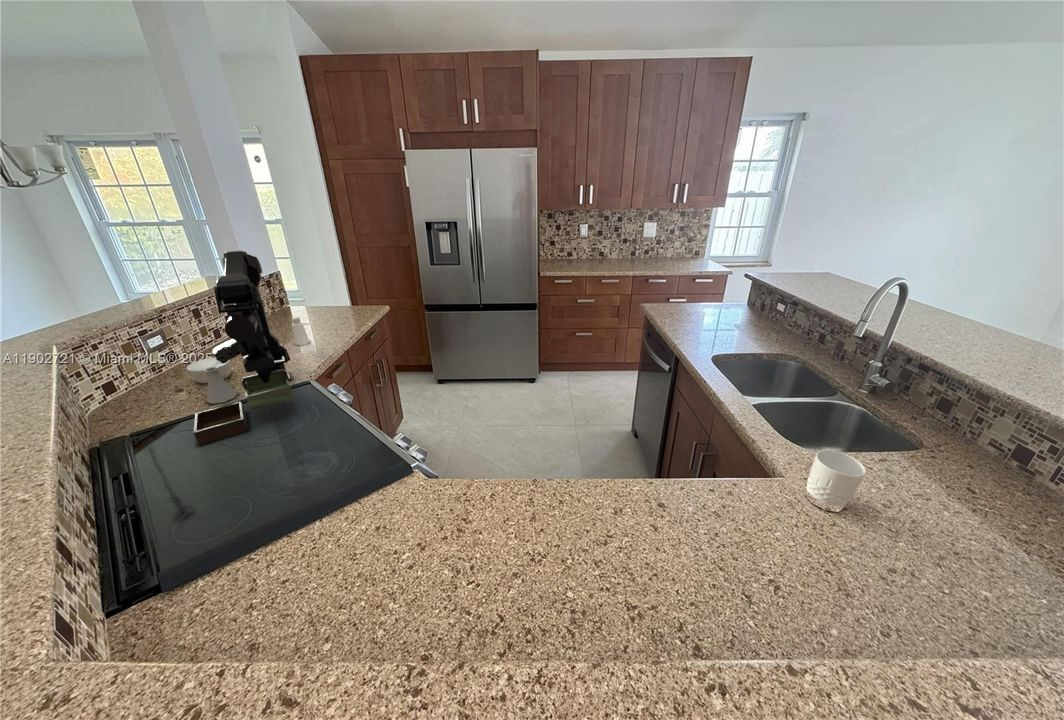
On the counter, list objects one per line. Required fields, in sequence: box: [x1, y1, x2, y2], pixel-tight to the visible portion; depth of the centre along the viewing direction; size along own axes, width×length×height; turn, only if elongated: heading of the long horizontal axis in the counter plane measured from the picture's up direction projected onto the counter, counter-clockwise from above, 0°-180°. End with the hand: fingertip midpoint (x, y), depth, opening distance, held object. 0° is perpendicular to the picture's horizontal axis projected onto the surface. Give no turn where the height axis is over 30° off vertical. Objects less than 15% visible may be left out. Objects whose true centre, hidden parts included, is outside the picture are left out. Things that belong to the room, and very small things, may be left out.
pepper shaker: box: [291, 316, 310, 346], centre depth 151 cm, size 5×5×11 cm
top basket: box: [240, 369, 295, 411], centre depth 102 cm, size 11×10×7 cm
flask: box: [204, 367, 239, 405], centre depth 111 cm, size 7×7×10 cm
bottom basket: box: [193, 401, 249, 447], centre depth 98 cm, size 11×10×4 cm
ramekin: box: [186, 356, 232, 384], centre depth 124 cm, size 11×11×5 cm
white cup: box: [805, 449, 867, 506], centre depth 74 cm, size 8×8×10 cm
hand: (266, 381), depth 102 cm, fingers closed on top basket
